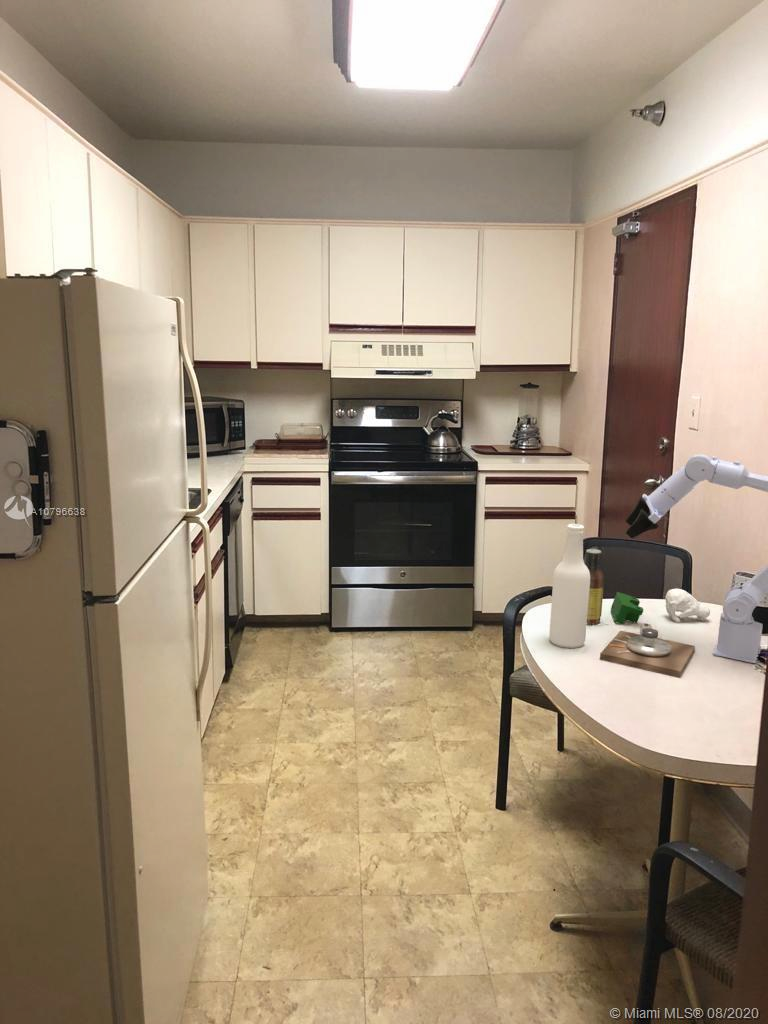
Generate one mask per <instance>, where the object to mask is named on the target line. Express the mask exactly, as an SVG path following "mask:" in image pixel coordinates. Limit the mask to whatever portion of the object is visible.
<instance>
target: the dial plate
mask: <svg viewBox="0 0 768 1024" xmlns="http://www.w3.org/2000/svg"><path fill="white" fill-rule="evenodd" d="M633 637H641V634H640V633H634V632H631V631H630V632H629V631H626V630H620V631H618V633H617V634H616V635H615V636H614V637H613V638H612V639H611V640H610V642H609V643H608V644H607V645H606V646H605V648H604V649H602V650H601V652H600V655H599V660H601V661H606V662H610V663H614V664H619V665H624V666H628V667H634V668H637V669H639V670H640V669H641V670H646V671H650V672H655V673H659V674H661V675H662V674H663V675H667V676H672V677H677V678H681V677H682V675H683V673H684V671H685V669H686V667H687V666H688V664H689V662H690V660H691V659H692V657H693V655H694V654H695V651H696V645H693V644H689V643H683V642H680V641H679V642H678V641H674V640H669V639H664V638H656V639H660V640H663V641H665V642H667V643H668V644H670V646H671V653H670V654H669V655H666V656H660V657H653V656H645V655H641V654H638V653H635V652H633V651H631V650H630V649H628V647H627V640H628V639H630V638H633Z"/></svg>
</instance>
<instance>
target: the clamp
mask: <svg viewBox="0 0 768 1024" xmlns="http://www.w3.org/2000/svg"><path fill="white" fill-rule="evenodd" d="M640 602H641V601H640V600H639V599H638V598H637V597H635V596H632V595H628V594H626V593H621V592H619V591H616V594H615V596H614V599H613V602H612V604H611V607H610V613H611V616H612V619H613V622H614V623H617V624H620V625H623V624H624V623H625V621H628V622H631V623H634V622H635V623H634V624H638V622H639V619H640V616H642V615H643V613H644V608H643V607H642V606H640Z"/></svg>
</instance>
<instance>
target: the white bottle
mask: <svg viewBox="0 0 768 1024" xmlns="http://www.w3.org/2000/svg"><path fill="white" fill-rule="evenodd" d="M566 528H567V529H566V539H565V544H564V545H565V546H564V552H563V558H562V559H561V562H560V563H559V564H557V566H556V567H555V569H554V572H553V577H552V591H551V592H552V593H551V603H550V605H551V607H550V622H549V633H548V634H549V635H548V638H549V640H550V642H551V643H552V644H553V645H554V644H555V646H557V647H559V646H561V647H560V648H564V647H565V649H577V648H581V647H582V646H583V645H584V644H585V642H586V638H587V637H586V635H587V627H588V626H587V613H588V601H589V589H590V572H589V570H588V568H587V566H586V565H585V564H586V563H585V561H584V533H585V531H584V529H585V526H584V525H582V524H579V523H570V524H568V525H567V526H566Z"/></svg>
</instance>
